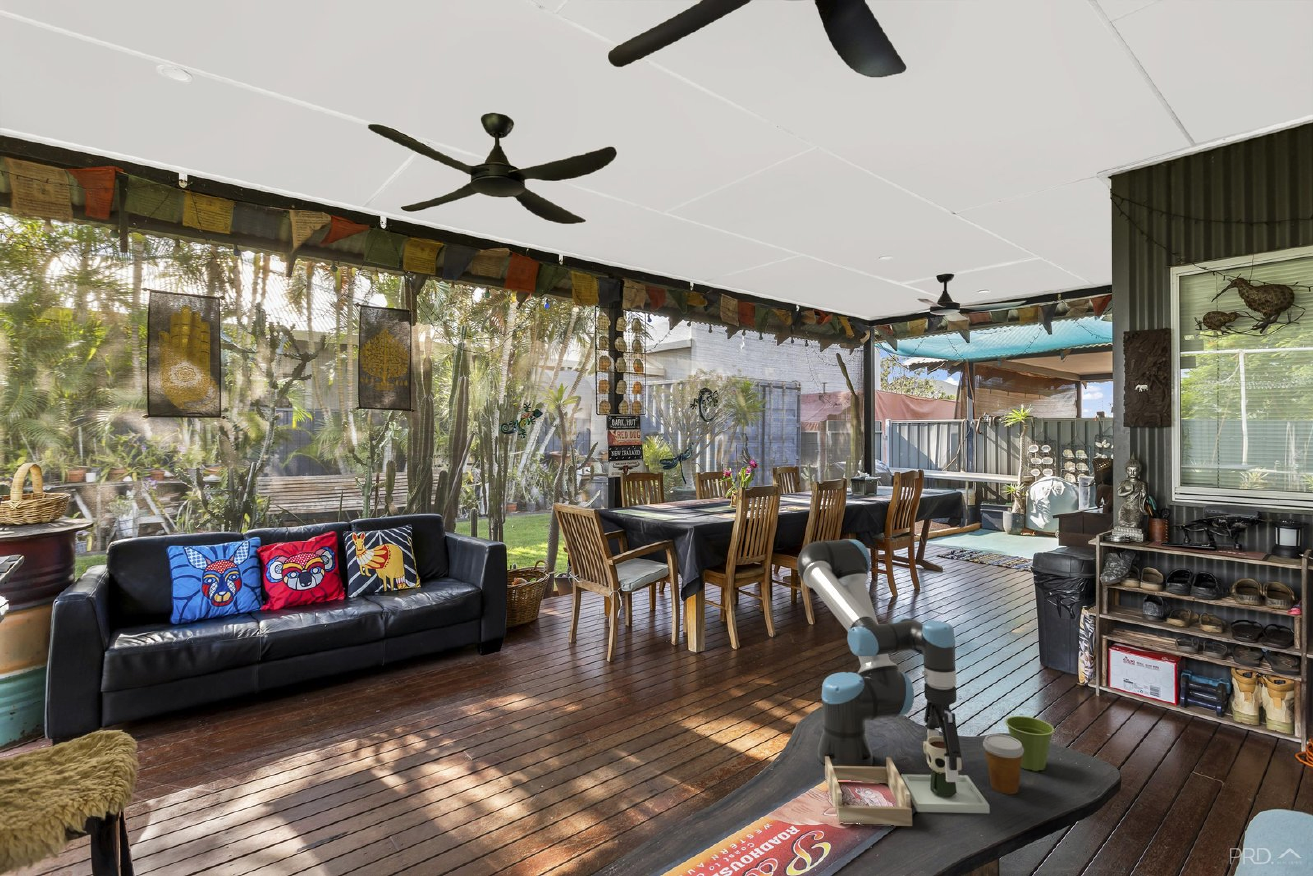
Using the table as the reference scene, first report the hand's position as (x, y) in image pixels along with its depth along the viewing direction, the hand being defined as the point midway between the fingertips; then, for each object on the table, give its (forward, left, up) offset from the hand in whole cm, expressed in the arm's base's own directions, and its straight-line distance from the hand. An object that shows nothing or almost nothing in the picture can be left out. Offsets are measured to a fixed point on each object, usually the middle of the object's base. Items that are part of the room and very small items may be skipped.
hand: (942, 767), depth 167 cm
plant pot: (-17, +29, -8) cm, 34 cm away
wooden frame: (+3, -20, -8) cm, 22 cm away
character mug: (0, 0, -7) cm, 7 cm away
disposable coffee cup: (-5, +17, -8) cm, 19 cm away
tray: (0, 0, -8) cm, 8 cm away
